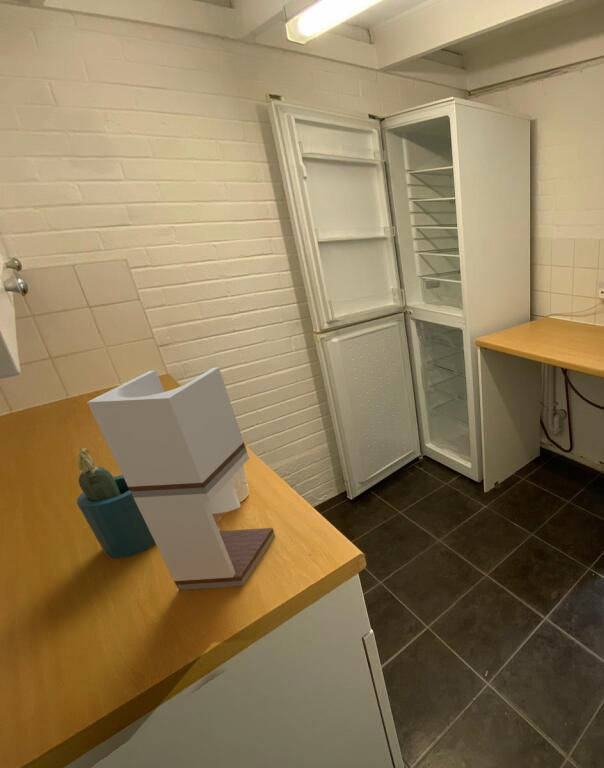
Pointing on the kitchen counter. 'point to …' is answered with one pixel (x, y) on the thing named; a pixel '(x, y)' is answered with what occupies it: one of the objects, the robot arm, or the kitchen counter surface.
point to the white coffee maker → (183, 474)
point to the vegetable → (95, 479)
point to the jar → (117, 523)
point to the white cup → (240, 484)
